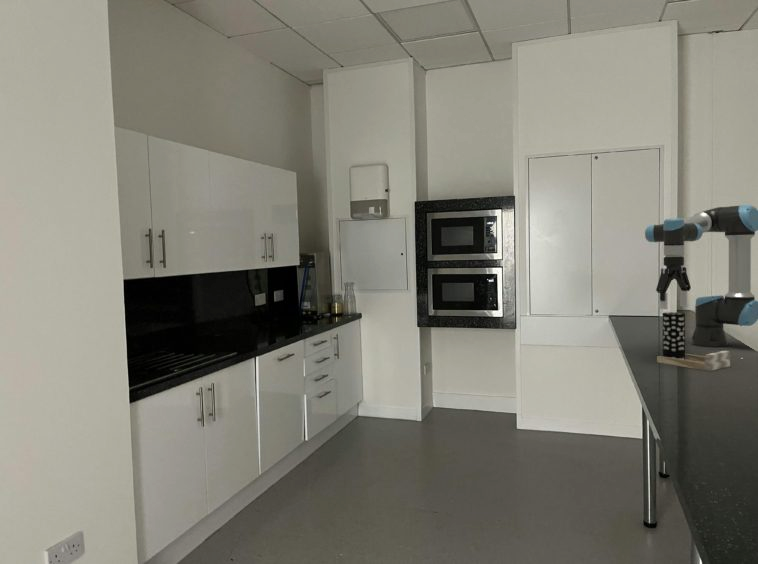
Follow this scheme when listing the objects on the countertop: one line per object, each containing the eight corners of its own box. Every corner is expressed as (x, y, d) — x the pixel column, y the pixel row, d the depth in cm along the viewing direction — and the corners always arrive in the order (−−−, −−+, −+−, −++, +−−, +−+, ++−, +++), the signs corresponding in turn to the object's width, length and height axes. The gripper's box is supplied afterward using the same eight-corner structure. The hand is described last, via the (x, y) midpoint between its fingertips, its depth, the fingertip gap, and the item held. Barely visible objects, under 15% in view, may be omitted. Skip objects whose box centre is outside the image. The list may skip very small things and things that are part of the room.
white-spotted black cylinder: (662, 362, 245) (662, 314, 243) (663, 359, 252) (663, 312, 251) (685, 363, 241) (685, 314, 239) (685, 360, 248) (685, 312, 247)
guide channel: (677, 358, 252) (677, 344, 252) (730, 366, 234) (730, 351, 233) (657, 362, 245) (656, 348, 245) (710, 371, 226) (710, 355, 226)
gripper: (682, 255, 253) (682, 304, 255) (646, 257, 240) (646, 309, 242) (700, 255, 247) (699, 306, 248) (663, 257, 234) (663, 310, 235)
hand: (673, 307), depth 245 cm, fingers open, 13 cm apart
